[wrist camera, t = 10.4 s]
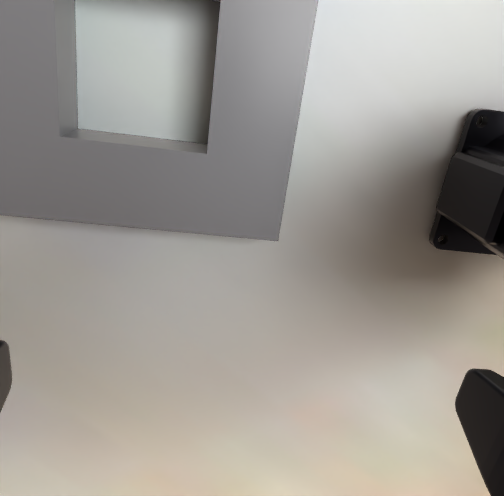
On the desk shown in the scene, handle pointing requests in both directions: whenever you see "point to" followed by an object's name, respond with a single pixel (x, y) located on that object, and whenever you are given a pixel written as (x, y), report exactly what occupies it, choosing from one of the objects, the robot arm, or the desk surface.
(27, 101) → the frame
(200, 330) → the desk surface
